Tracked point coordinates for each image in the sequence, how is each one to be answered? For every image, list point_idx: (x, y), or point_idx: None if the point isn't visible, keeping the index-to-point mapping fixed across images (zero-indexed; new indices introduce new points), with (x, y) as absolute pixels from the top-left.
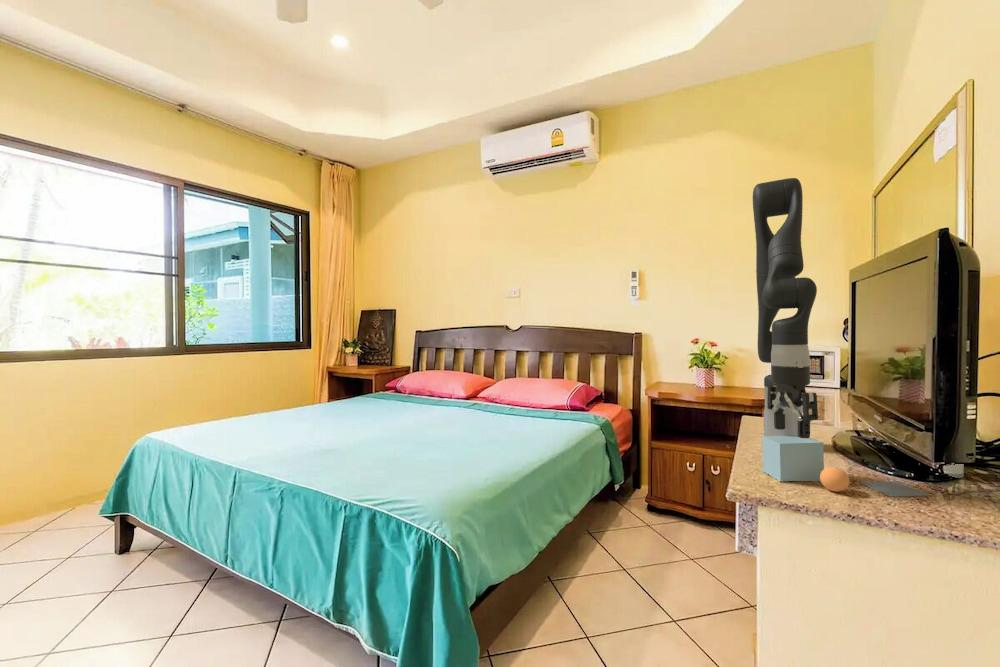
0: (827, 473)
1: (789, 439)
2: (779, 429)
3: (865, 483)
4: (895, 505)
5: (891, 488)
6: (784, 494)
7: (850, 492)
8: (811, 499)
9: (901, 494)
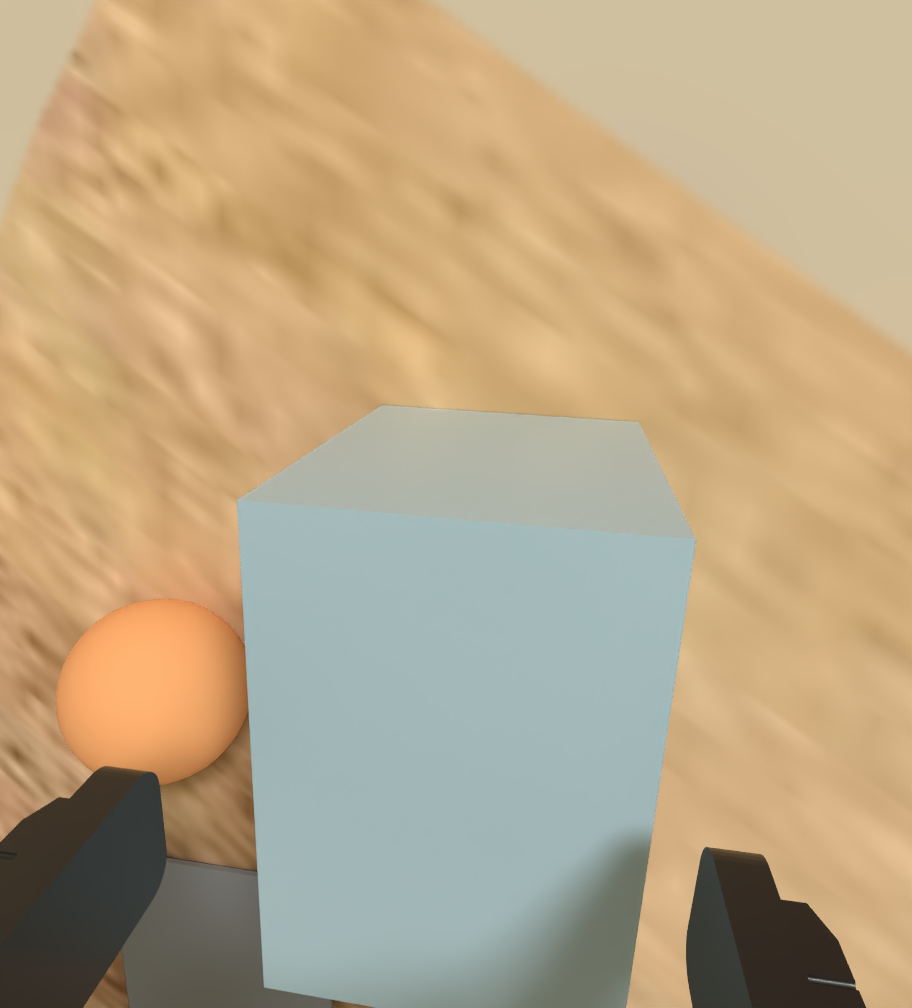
0: (95, 652)
1: (436, 766)
2: (698, 879)
3: None
4: (3, 771)
5: (219, 947)
6: (136, 259)
7: None
8: (54, 389)
9: None
